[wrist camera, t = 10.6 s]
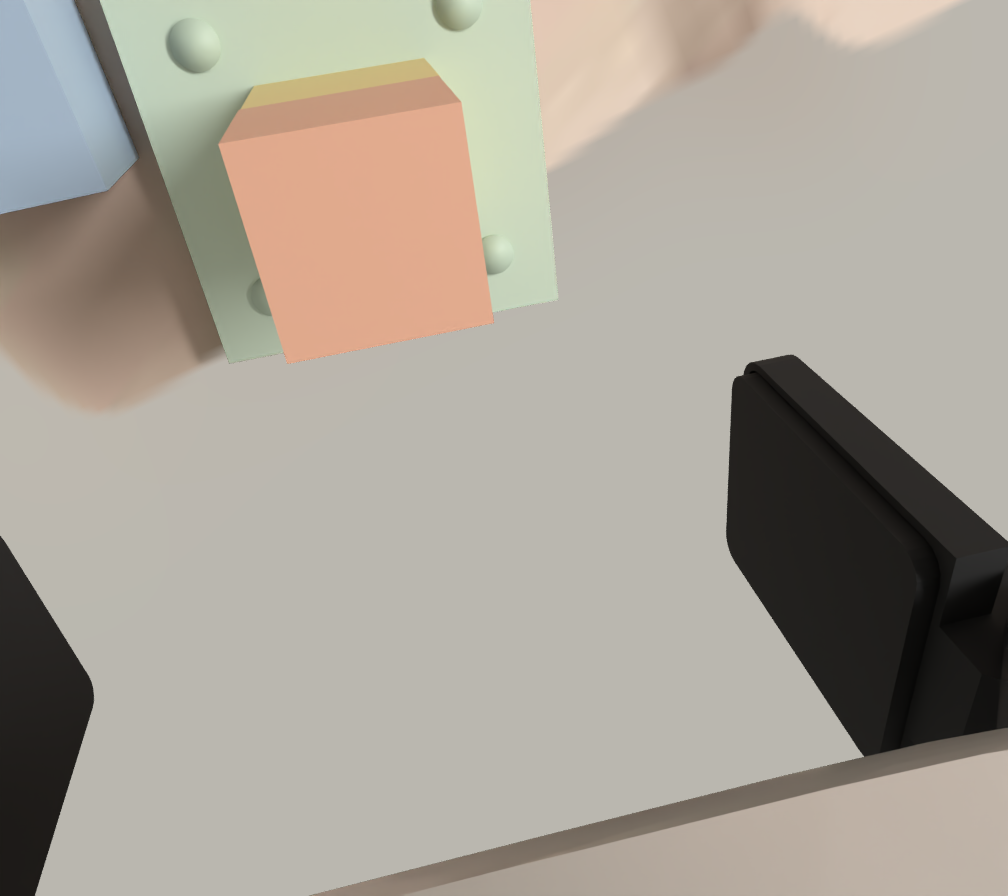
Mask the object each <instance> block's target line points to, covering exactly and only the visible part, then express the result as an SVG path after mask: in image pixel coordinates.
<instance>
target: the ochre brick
mask: <svg viewBox="0 0 1008 896" xmlns="http://www.w3.org/2000/svg"><path fill="white" fill-rule="evenodd" d="M434 76H439V74H438V73H437V72H436V71H435V70H434V69H433V67H432V66H431V65H430V64H429V63H428V62H427V61H426V59H425V58H420V59H414V60H408V61H402V62H396V63H390V64H384V65H378V66H372V67H366V68H360V69H354V70H347V71H341V72H335V73H329V74H323V75H317V76H311V77H305V78H299V79H293V80H287V81H281V82H275V83H269V84H263V85H256V86H254V87H253V89H252V90H251V92H250V94H249V95H248V97H247V99H246V101H245V102H244V104H243V106H242V107H241V109H246V108H252V107H258V106H264V105H269V104H275V103H281V102H287V101H293V100H299V99H305V98H311V97H316V96H322V95H328V94H334V93H340V92H346V91H352V90H358V89H363V88H369V87H375V86H381V85H387V84H393V83H399V82H405V81H410V80H416V79H422V78H428V77H434ZM439 77H440V76H439Z"/></svg>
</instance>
